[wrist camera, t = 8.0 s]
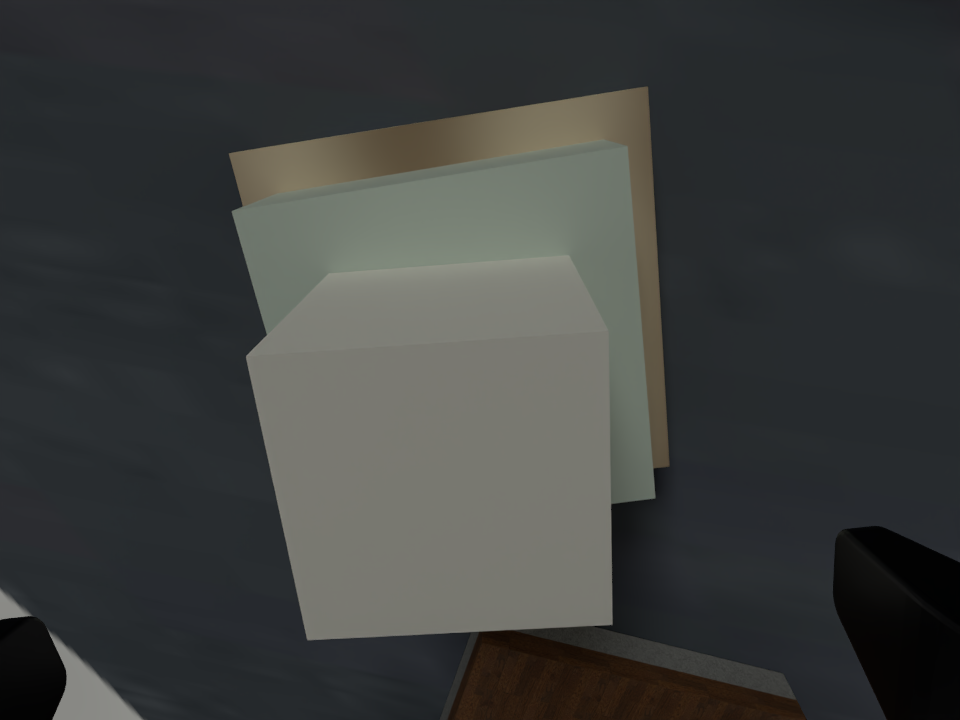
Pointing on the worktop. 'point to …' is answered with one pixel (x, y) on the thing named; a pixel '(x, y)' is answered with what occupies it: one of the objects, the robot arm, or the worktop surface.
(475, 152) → the oak slab
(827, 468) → the worktop surface
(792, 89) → the worktop surface
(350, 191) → the sage block
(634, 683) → the display case
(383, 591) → the cream block
